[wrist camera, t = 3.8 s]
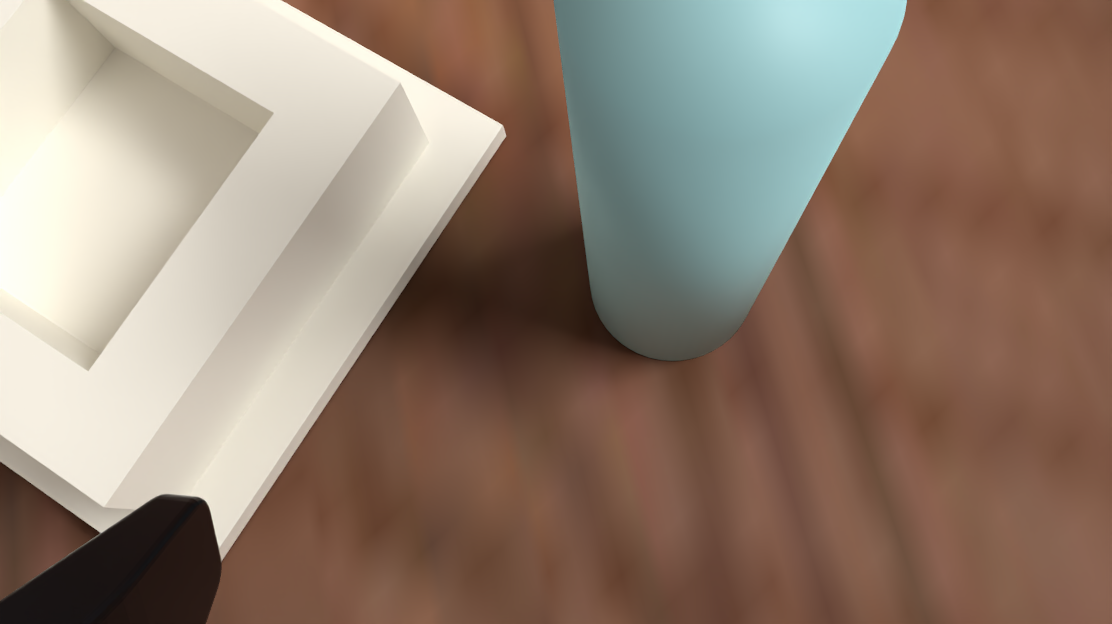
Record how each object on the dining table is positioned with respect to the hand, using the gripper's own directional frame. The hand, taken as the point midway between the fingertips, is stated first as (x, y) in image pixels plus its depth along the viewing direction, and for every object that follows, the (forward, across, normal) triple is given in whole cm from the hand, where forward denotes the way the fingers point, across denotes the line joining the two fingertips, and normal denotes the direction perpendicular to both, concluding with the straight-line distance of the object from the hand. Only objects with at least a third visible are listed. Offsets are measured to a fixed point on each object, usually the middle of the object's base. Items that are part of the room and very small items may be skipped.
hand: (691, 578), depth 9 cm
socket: (+13, +12, +4) cm, 18 cm away
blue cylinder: (+13, 0, +4) cm, 13 cm away
